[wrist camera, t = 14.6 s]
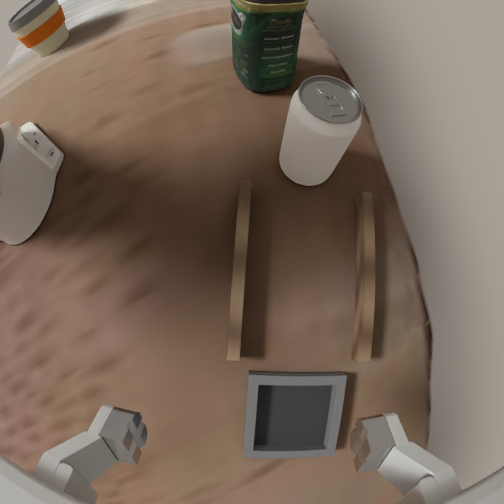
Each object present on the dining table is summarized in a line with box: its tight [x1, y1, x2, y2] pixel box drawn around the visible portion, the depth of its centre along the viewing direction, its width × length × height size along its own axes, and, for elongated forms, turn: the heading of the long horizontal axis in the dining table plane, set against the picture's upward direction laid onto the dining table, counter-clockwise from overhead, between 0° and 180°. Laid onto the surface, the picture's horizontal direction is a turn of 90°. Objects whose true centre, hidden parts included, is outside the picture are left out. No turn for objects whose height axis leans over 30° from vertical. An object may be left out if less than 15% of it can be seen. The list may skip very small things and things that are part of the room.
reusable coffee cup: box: [8, 0, 69, 57], centre depth 31 cm, size 13×13×15 cm
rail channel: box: [227, 179, 375, 362], centre depth 28 cm, size 18×14×2 cm
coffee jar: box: [231, 0, 309, 92], centre depth 25 cm, size 10×8×19 cm
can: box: [279, 75, 363, 186], centre depth 26 cm, size 6×6×12 cm
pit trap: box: [243, 371, 347, 458], centre depth 26 cm, size 10×10×2 cm
